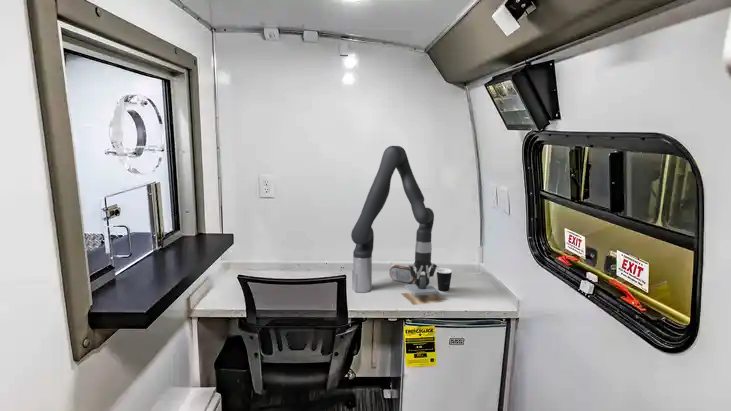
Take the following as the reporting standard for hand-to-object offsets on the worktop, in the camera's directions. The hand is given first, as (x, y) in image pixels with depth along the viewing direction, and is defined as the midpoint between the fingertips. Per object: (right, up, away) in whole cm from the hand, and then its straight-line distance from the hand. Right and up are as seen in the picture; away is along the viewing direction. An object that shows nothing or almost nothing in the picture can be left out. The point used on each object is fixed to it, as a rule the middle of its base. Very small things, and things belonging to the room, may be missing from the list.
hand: (421, 285), depth 221 cm
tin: (-7, -3, +27) cm, 28 cm away
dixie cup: (+12, -5, +10) cm, 17 cm away
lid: (0, -2, 0) cm, 2 cm away
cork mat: (0, -6, +1) cm, 6 cm away
